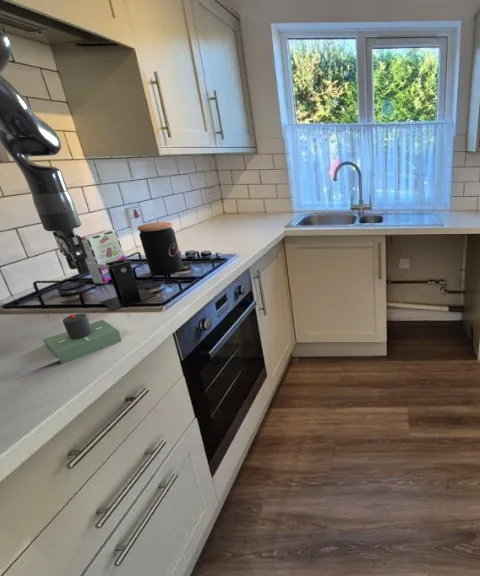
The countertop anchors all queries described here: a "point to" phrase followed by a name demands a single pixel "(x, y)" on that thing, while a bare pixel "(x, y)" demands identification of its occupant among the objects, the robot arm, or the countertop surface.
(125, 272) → the bracket
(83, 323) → the knob
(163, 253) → the coffee jar
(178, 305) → the countertop surface
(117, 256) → the candy bar box
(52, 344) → the panel
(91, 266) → the press lever
